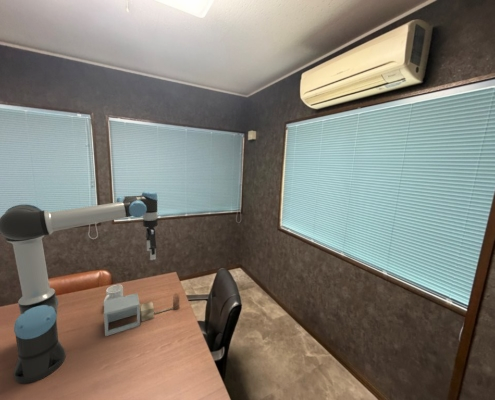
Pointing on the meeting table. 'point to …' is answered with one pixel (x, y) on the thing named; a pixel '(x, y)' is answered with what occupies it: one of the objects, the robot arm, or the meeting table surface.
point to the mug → (114, 292)
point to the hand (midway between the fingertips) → (151, 254)
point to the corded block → (148, 308)
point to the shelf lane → (121, 312)
